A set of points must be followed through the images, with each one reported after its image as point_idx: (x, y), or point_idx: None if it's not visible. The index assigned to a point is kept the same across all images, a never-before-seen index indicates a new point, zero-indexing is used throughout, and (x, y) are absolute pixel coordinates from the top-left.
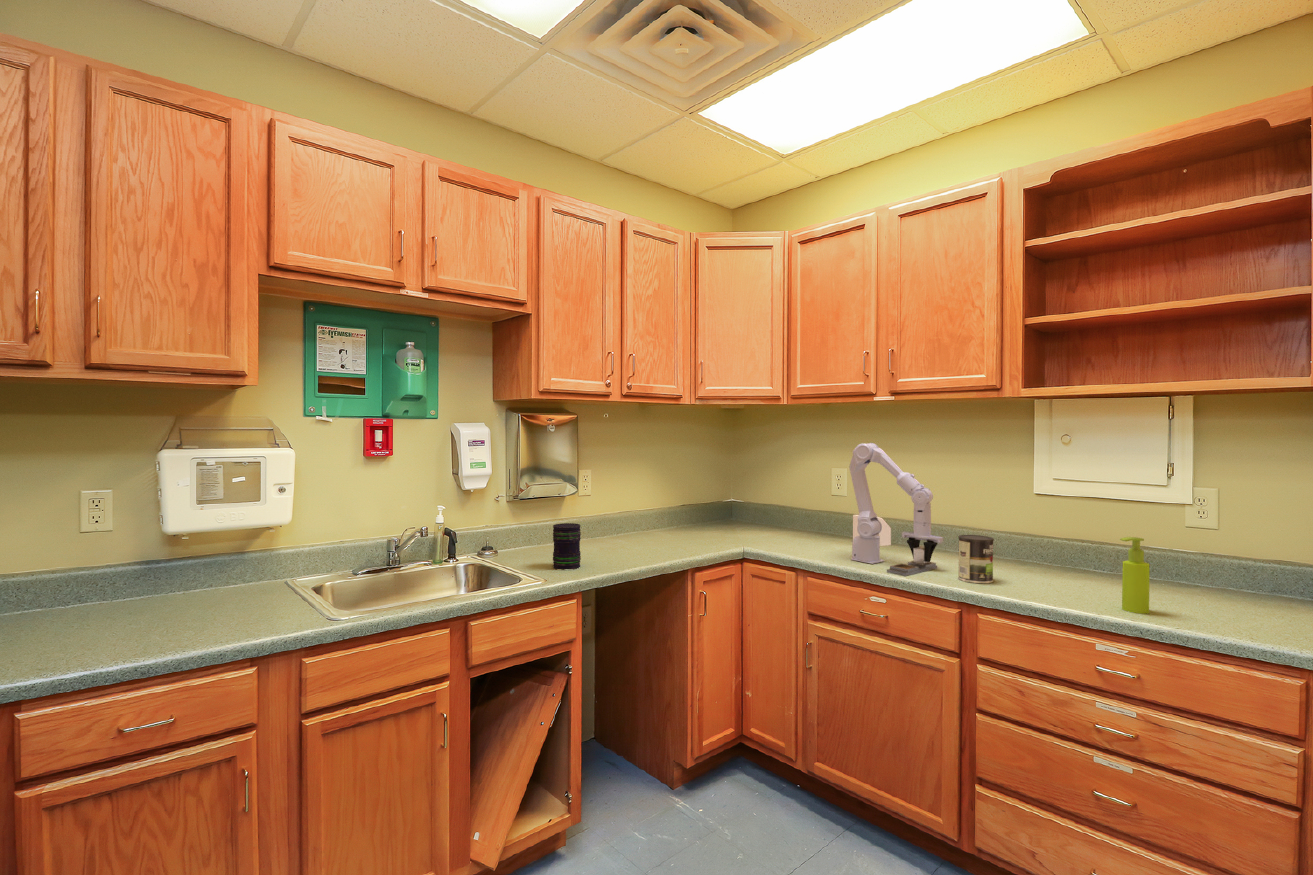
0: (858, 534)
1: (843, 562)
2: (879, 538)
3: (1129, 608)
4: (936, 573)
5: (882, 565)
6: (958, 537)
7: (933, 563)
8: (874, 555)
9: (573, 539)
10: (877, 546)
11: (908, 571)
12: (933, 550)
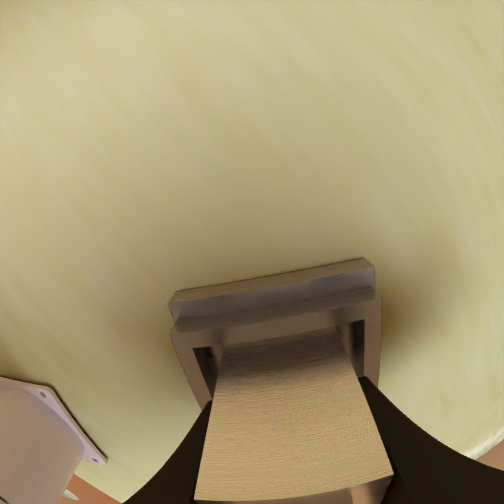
0: None
1: (76, 474)
2: (6, 500)
3: None
4: (432, 378)
5: (135, 454)
6: None
7: (380, 338)
8: (71, 466)
9: None
10: (46, 491)
11: None
12: (444, 449)
